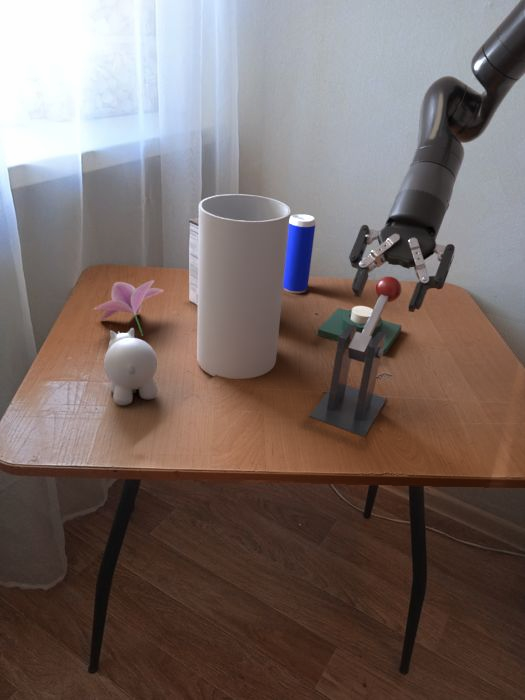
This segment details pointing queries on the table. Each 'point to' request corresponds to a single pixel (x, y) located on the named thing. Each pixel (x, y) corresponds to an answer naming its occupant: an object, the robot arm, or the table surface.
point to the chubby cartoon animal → (130, 367)
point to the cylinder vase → (240, 283)
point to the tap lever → (374, 317)
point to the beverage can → (299, 253)
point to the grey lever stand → (352, 388)
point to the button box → (342, 321)
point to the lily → (127, 299)
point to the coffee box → (193, 259)
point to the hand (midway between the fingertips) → (383, 302)
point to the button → (360, 314)
